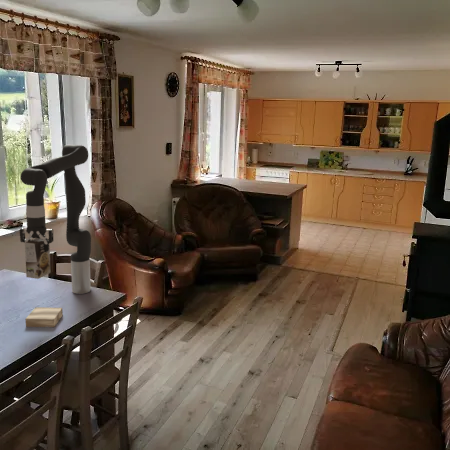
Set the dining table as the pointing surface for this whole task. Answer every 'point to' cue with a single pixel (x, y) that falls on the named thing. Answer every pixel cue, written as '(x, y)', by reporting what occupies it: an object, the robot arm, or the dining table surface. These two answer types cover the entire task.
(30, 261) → the coffee box
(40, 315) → the birch block
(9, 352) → the dining table surface
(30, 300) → the dining table surface
